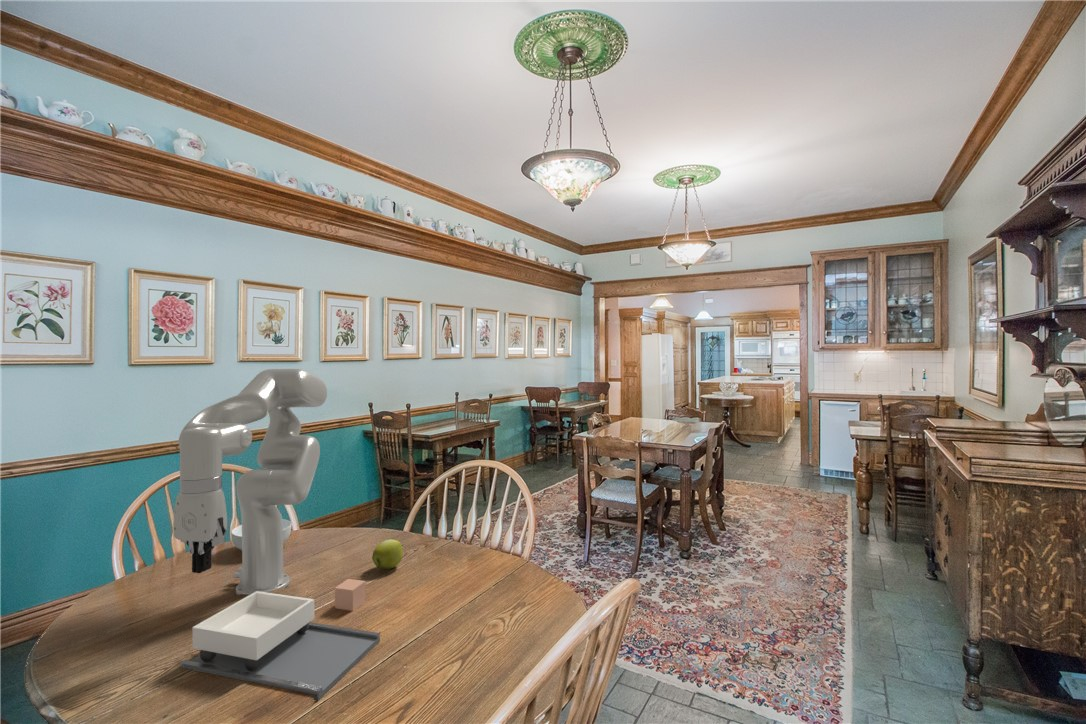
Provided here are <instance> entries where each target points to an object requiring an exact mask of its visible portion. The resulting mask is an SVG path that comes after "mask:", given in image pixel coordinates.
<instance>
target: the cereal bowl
mask: <svg viewBox="0 0 1086 724" xmlns="http://www.w3.org/2000/svg"><path fill="white" fill-rule="evenodd" d="M282 521H283V544H284V543H285V542H286V541H287V540H288V539H289V538H290V535H291V532H292V527H293V525H292V522H291V521H290V520H287V519H285V518H284V519H283V518H282ZM230 535H231V536H230V538H231V542H232V544H233V545H234V546H235V548H237V549H239V550H241V551H242V524H240V525H238V526H236V527H234V528H233V529H232V530H231V532H230Z"/></svg>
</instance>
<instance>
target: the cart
mask: <svg viewBox="0 0 1086 724" xmlns="http://www.w3.org/2000/svg"><path fill="white" fill-rule="evenodd" d="M315 613H316V611H315V598H308V597H301V596H296V595H295V596H294V595H286V594H280V593H279V594H278V593H274V592H260V591H256V592H254V593H252V594H251V595H247V596H245V597H243V598H241V599H240V600H239V601H237V602H234V603H233V604H232V605H229V606H228V607H226V608H224V609H223V610H220V611H219V612H217V613H216V614H213V615H212V616H210V617H208V618H206V619H204V620H202V621H200V623H197V624H196V625H194V626H192V628H191V629H192V630H191V631H192V649H193V650H194V649H195V650H199V655H200V657H201V659H202V660H203V661H204V662H208V661H210V660H211V659H213V658H214V657H215V656H216V653H221V654H226V655H231V656H236V657H242V658H245V661H244V664H245V667H246V668H247V669H248V670H249V671H253V670H254V669H256V668H257V667H258V666H260V664H261V657H262V656H263V655H265V654H266V653H268V652H269V651H270V650H272V649H273V648H274V647H276V646H277V645H279V644H280V643H281V642H283V641H284V640H285V639H287V638H288V637H290V636H291V635H292V634H294V633H295V632H297V633H298V634H303V633H304V632H305V631H307V630H308V628H309V622H312V621H313V620H314V619H316V618H315Z"/></svg>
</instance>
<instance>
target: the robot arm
mask: <svg viewBox="0 0 1086 724" xmlns="http://www.w3.org/2000/svg"><path fill="white" fill-rule="evenodd" d="M327 397H328V389H327V385H326V384H325V382H324V381H323V380H322V379H321V378H319V377H318V376H317V375H314V374H313V373H311V372H309V371H306V370H304V369H302V368H269V369H264V370H262V371H260V372H259V373H258V374H256V375H255V377H254V378H253V379H252V380H251V381H250V382H249V383H248V384H247V385H246V386H245V387H244V388H243V389H242V390H241V391H240V392H239V393H238V394H236V395H234V396H232V397H227V398H226V399H224V400H222V401H219V402H217V403H215V404H213V405H210V406H207V407H206V408H203V409H202V410H200V411H199V412H198V413H197V414H195V415H194V416H193V417H192V418H191V419H190V420H189V421H188V422H187V423H186V424H185V426H184V427H183V428H182V430H181V431H180V434H179V436H178V447H179V492H178V493H177V495H176V499H175V505H174V512H173V523H172V524H173V526H172V528H173V529H172V533H173V534H172V535H173V537H174V538H175V539H176V540H179V541H180V542H182V543H185V544H186V545H187V546H188V549H189V551H188V552H189V554H191V572H192V574H193V573H194V574H195V573H196V574H202V573H203V572H205V571H208V570H210V569H211V568H212V551H214V549H215V547H216V546H217V547H218V546H220V545H223V544H224V543H225V540H224V536H225V535H226V534H227V530H228V513H227V512H228V511H227V504H226V499H225V493H224V490H223V457H230V456H231V457H232V456H234V457H235V456H239V455H241V454H243V453H244V452H246V451H247V450H249V447H251V444H252V441H253V433H252V430H251V429H250V428H249V427H248V426H247V425H248V424H250V423H254V422H258V421H260V420H262V419H264V418H265V417H267V415H268V417H269V424H268V428H267V430H266V432H265V434H264V437H263V440H262V441H261V444H260V447H259V449H258V452H257V455H256V462H257V464H258V466H259V467H261V468H254V469H251V470H248V471H246V472H244V473H243V474H242V475H240V476H239V478H238V480H237V483H236V495H237V499H238V504H239V508H240V518H241V525H242V550H241V552H242V553H241V555H242V557H241V558H242V559H241V560H242V562H241V563H242V566H239V567H238V568H237V569H236V571H235V572H234V573H233V575H232V577H233V578H234V579H239V583H238V584H237V585H236V587H235V594H236V595H237V596H240V595H247V596H249V595H251V594H252V593H254V592H256V591H260V592H267V593H271V592H272V591H275V590H278V589H280V588H286V587H287V586H288V585H290V581H291V578H290V575H289V574H288V573H285V572H284V543H283V521H282V519H283V516H282V514H281V512H280V509H279V508H278V507H277V506H289V505H298V504H301V503H303V502H304V501H305V500H306V499H307V497H308V495H309V493H310V490H311V487H312V484H313V481H314V477H315V475H316V471H317V467H318V465H319V462H320V456H321V446H320V445H321V444H320V442H319V440H318V439H317V438H316V437H314V436H311V435H302V434H301V435H300V433H301V430H302V424H301V421H300V420H299V418H298V416H297V415H295V413H294V412H293V411H292V409H291V408H319V407H321V406H322V405H323V404H324V403H325V402H326V400H327Z"/></svg>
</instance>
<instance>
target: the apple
mask: <svg viewBox="0 0 1086 724" xmlns="http://www.w3.org/2000/svg"><path fill="white" fill-rule="evenodd" d="M372 552H373V553H372V556H371V559H372V562H373V564H374V565H375V566H376V567H377V569H382V570H385V569H386V570H390V569H392V568H395V567H396V566H397V565H399V563H401V561H402V559H403V556H404V549H403V545H402V543H401V542H400V541H398V540H396V539H392V538H391V539H385V540H383V541H382V542H380V543H379V544H378V545H377V546H376V547H375V548H374V550H373V551H372Z"/></svg>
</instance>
